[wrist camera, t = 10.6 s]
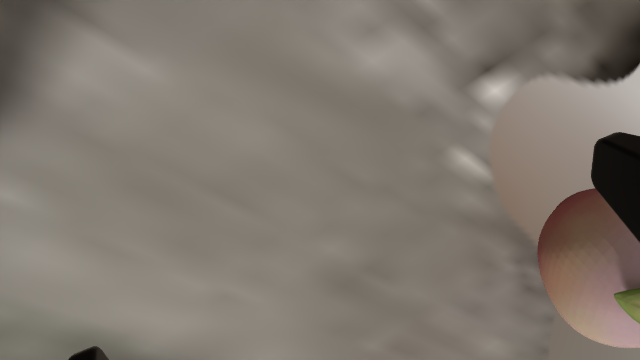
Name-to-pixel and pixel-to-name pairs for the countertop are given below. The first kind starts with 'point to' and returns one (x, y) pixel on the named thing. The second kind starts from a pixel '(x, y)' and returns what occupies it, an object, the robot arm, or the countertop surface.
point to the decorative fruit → (592, 269)
